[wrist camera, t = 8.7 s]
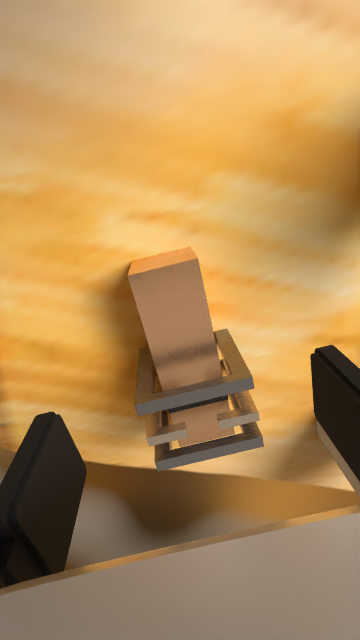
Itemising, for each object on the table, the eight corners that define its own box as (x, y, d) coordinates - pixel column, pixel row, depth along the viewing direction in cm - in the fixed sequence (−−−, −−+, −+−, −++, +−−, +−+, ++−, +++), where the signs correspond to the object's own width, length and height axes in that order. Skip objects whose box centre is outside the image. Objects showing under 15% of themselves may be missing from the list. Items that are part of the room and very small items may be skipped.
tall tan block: (131, 261, 26) (126, 276, 21) (190, 246, 26) (198, 258, 21) (175, 410, 32) (179, 448, 28) (223, 399, 32) (235, 434, 27)
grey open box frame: (139, 349, 29) (134, 404, 22) (227, 328, 29) (252, 376, 22) (157, 404, 32) (158, 471, 24) (237, 385, 32) (263, 446, 24)
